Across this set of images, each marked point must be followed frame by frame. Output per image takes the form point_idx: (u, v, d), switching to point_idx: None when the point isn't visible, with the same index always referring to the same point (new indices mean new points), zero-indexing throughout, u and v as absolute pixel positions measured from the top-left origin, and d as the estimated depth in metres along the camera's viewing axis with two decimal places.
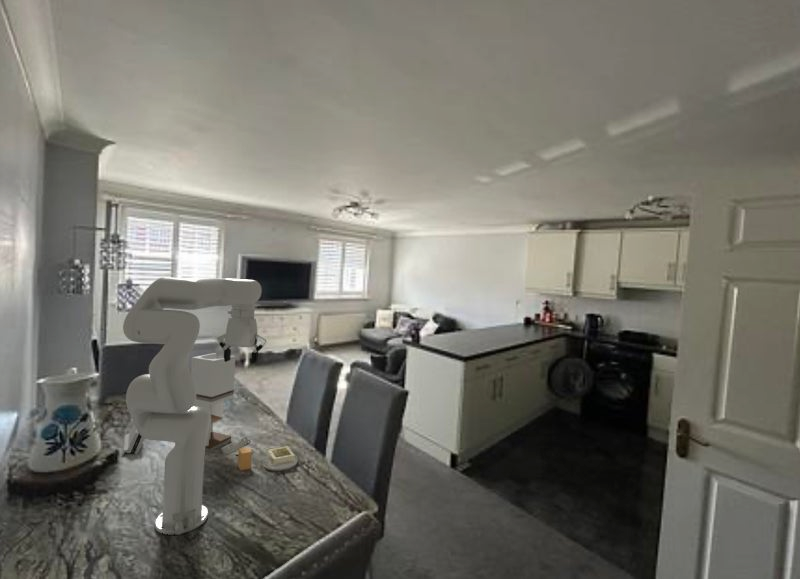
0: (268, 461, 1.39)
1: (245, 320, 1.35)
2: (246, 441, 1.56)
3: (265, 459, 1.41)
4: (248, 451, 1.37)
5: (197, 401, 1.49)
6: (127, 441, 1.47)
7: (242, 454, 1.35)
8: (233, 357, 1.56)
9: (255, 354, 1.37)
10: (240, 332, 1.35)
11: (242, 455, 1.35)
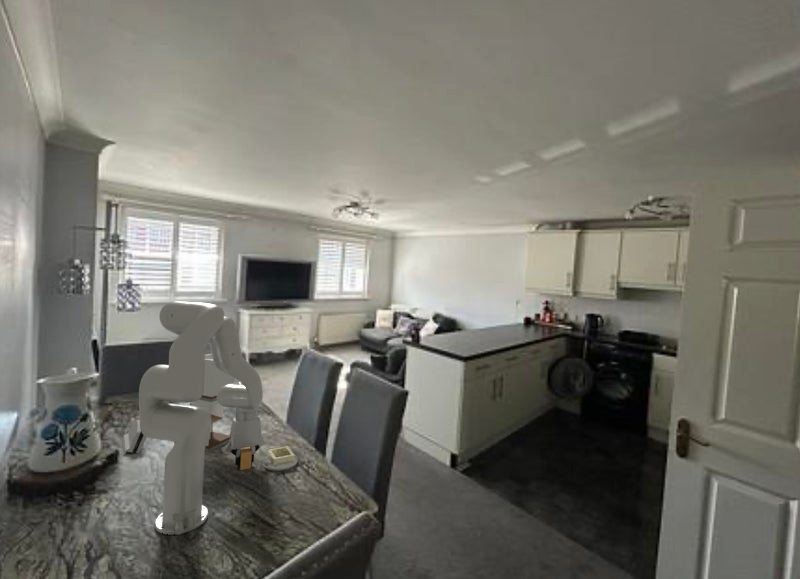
0: (268, 461, 1.39)
1: None
2: None
3: (265, 459, 1.41)
4: (248, 451, 1.37)
5: (197, 401, 1.49)
6: (127, 441, 1.48)
7: (242, 454, 1.35)
8: None
9: None
10: None
11: (242, 455, 1.35)
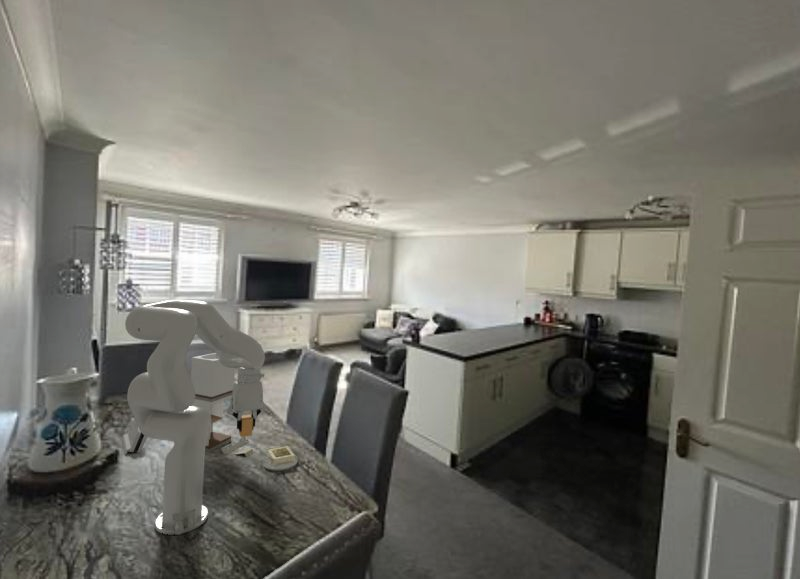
0: (268, 461, 1.39)
1: None
2: (244, 441, 1.56)
3: (265, 459, 1.41)
4: (249, 418, 1.36)
5: (197, 401, 1.49)
6: (128, 441, 1.48)
7: (243, 420, 1.34)
8: None
9: None
10: None
11: (243, 421, 1.34)
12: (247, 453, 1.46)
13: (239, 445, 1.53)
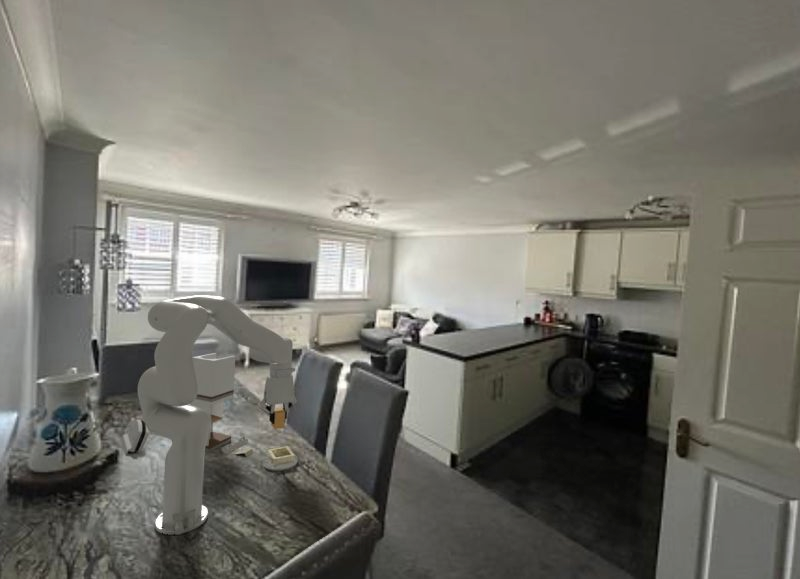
0: (268, 461, 1.39)
1: None
2: (244, 441, 1.56)
3: (265, 459, 1.41)
4: (282, 411, 1.40)
5: (197, 401, 1.49)
6: (128, 440, 1.48)
7: (276, 413, 1.38)
8: (233, 357, 1.56)
9: None
10: None
11: (276, 414, 1.38)
12: (247, 453, 1.46)
13: (239, 445, 1.53)
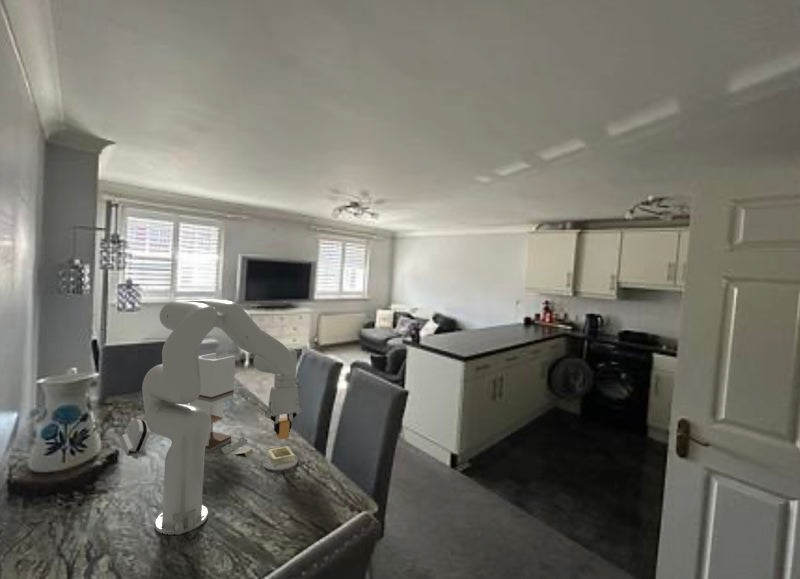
0: (268, 461, 1.39)
1: None
2: (243, 441, 1.56)
3: (265, 459, 1.41)
4: (286, 421, 1.41)
5: (197, 401, 1.49)
6: (128, 440, 1.48)
7: (281, 424, 1.39)
8: (233, 357, 1.56)
9: None
10: None
11: (281, 425, 1.39)
12: (247, 453, 1.46)
13: (238, 445, 1.53)
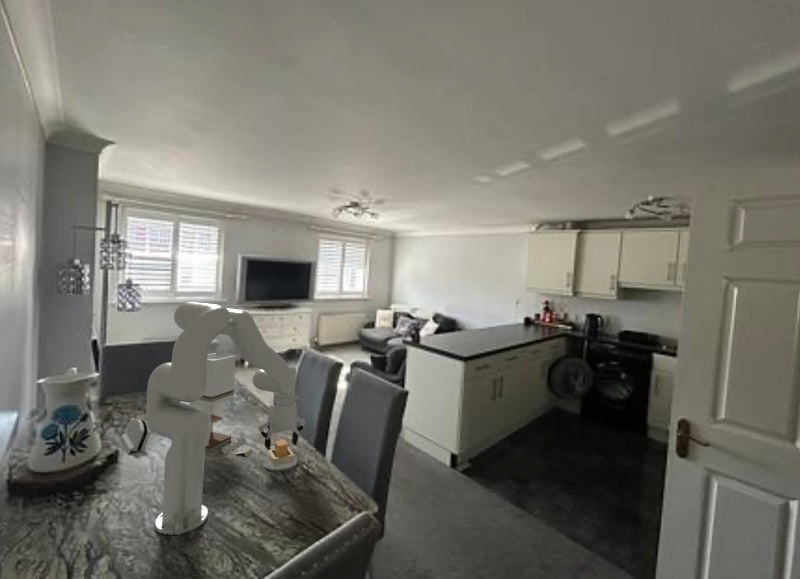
0: (268, 461, 1.39)
1: None
2: (242, 441, 1.56)
3: (265, 459, 1.41)
4: (284, 444, 1.41)
5: (197, 401, 1.49)
6: (128, 440, 1.48)
7: (279, 446, 1.39)
8: (233, 357, 1.56)
9: None
10: None
11: (279, 447, 1.39)
12: (247, 453, 1.47)
13: (238, 445, 1.53)
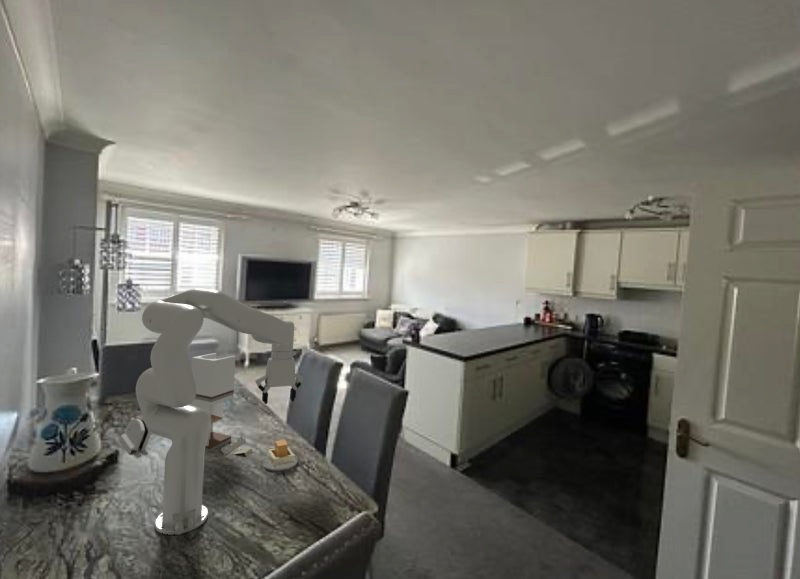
0: (268, 461, 1.39)
1: None
2: (242, 441, 1.56)
3: (265, 459, 1.41)
4: (284, 444, 1.41)
5: (197, 401, 1.49)
6: (128, 440, 1.48)
7: (279, 446, 1.39)
8: (233, 357, 1.56)
9: None
10: None
11: (279, 447, 1.39)
12: (247, 452, 1.47)
13: (237, 445, 1.53)
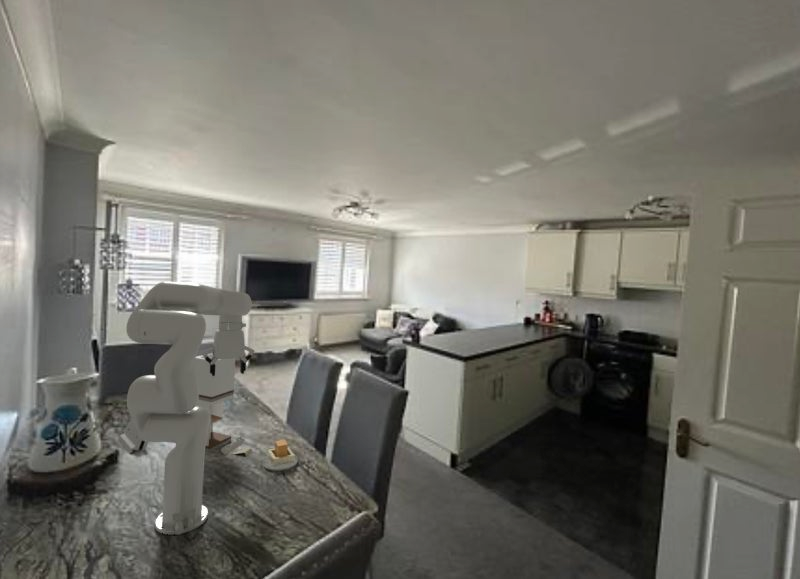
0: (268, 461, 1.39)
1: None
2: (241, 441, 1.56)
3: (265, 459, 1.41)
4: (284, 444, 1.41)
5: None
6: (128, 440, 1.48)
7: (279, 446, 1.39)
8: None
9: None
10: None
11: (279, 447, 1.39)
12: (247, 452, 1.47)
13: (236, 445, 1.53)
